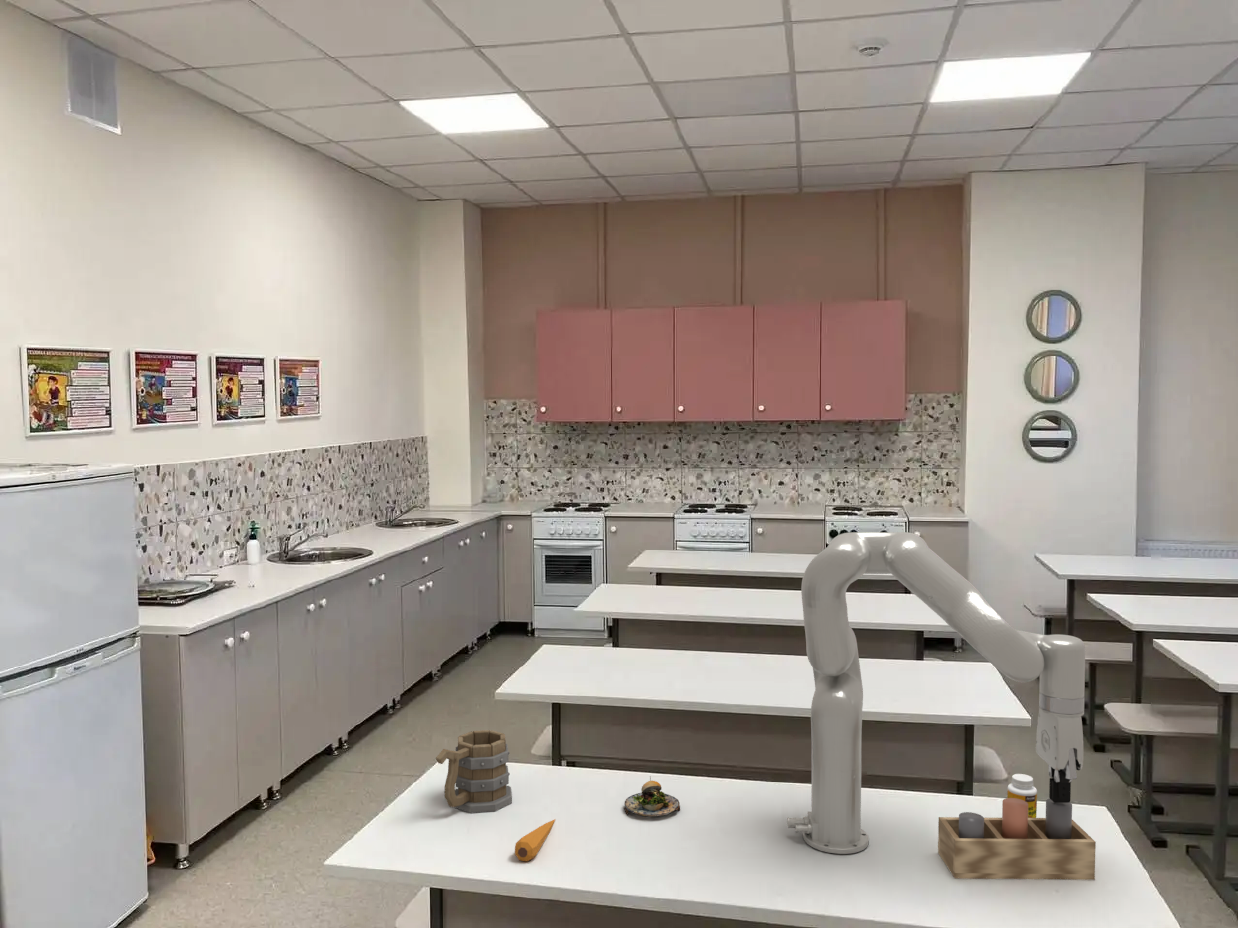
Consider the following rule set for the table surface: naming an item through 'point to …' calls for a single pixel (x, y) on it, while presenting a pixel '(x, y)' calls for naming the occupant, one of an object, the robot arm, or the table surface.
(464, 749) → the tankard
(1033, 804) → the supplement bottle
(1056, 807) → the plunger right
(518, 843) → the carrot
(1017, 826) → the pink cylinder
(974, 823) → the plunger left
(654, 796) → the burger
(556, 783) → the table surface
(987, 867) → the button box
